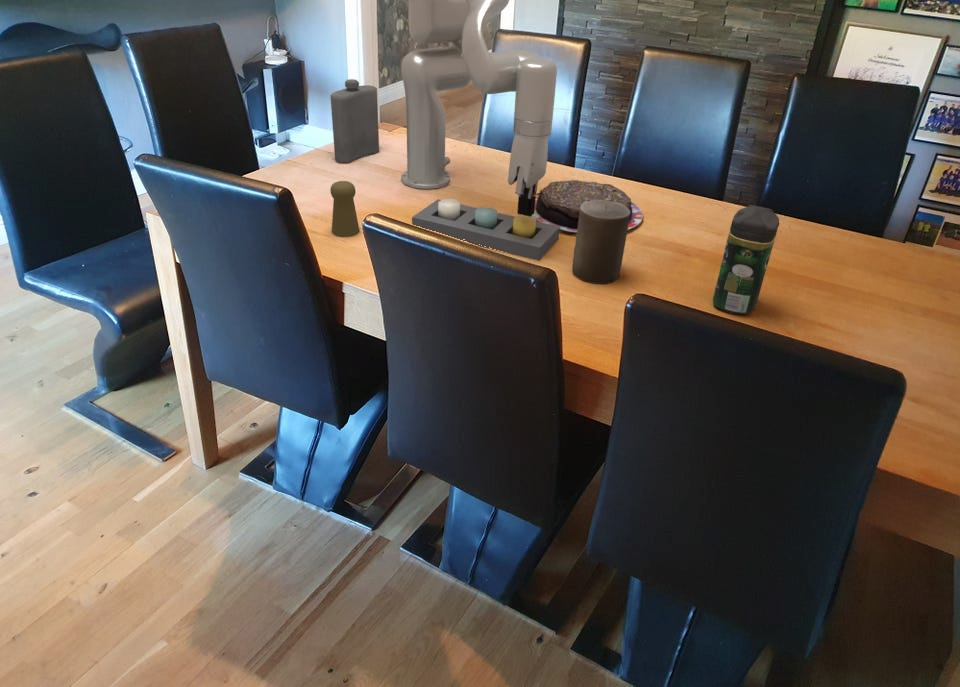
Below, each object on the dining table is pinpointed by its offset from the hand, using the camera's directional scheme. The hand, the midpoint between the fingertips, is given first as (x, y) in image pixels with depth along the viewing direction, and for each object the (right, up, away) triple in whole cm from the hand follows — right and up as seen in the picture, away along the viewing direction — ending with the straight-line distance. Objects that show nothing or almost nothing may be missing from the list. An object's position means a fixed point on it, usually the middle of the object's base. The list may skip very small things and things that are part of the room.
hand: (525, 213), depth 150 cm
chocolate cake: (+15, +3, +20) cm, 25 cm away
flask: (-44, +24, +47) cm, 68 cm away
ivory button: (-17, +1, +9) cm, 19 cm away
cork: (-39, -3, +5) cm, 39 cm away
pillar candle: (+14, -13, -6) cm, 20 cm away
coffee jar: (+39, -20, -14) cm, 46 cm away
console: (-8, -3, +7) cm, 11 cm away
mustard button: (0, -4, +3) cm, 5 cm away
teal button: (-8, -2, +6) cm, 10 cm away
